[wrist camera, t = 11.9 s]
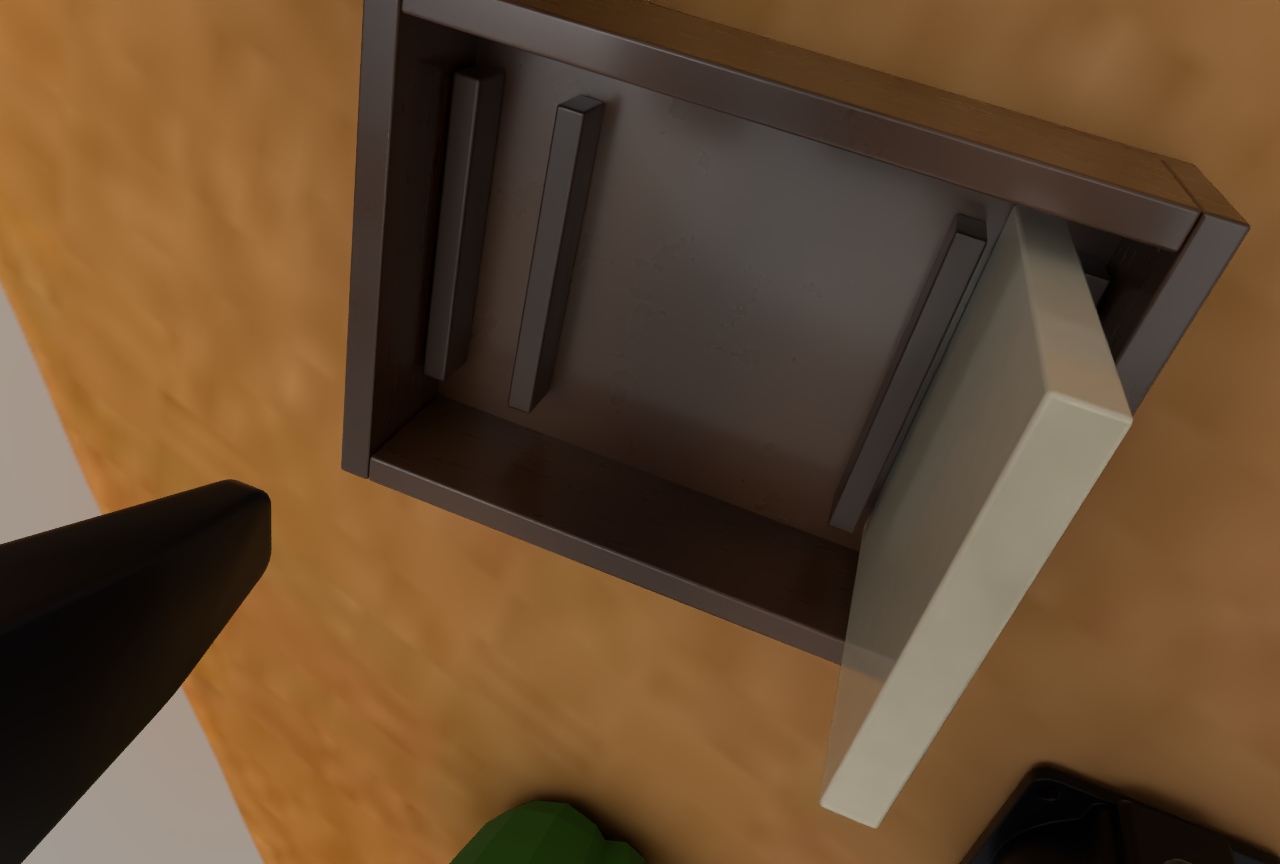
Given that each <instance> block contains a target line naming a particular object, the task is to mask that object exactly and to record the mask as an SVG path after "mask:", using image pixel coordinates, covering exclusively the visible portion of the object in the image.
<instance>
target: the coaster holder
mask: <svg viewBox="0 0 1280 864" xmlns="http://www.w3.org/2000/svg"><path fill="white" fill-rule="evenodd" d="M1015 205H1021V206H1025V207H1028V208H1031V209H1034V210H1037V211H1041V212H1044V213H1047V214H1050V215H1053V216H1057V217H1060V218H1063V219H1065V220H1066V221H1067V223H1068V226H1069V229H1070V232H1071V235H1072V238H1073V241H1074V244H1075V247H1076V250H1077V253H1078V256H1079V259H1080V262H1081V265H1082V268H1083V271H1084V274H1085V276H1086V279H1087V282H1088V285H1089V288H1090V291H1091V294H1092V297H1093V300H1094V303H1095V306H1096V309H1097V312H1098V315H1099V318H1100V321H1101V324H1102V327H1103V330H1104V333H1105V336H1106V339H1107V342H1108V345H1109V348H1110V351H1111V354H1112V357H1113V360H1114V363H1115V366H1116V369H1117V372H1118V375H1119V378H1120V381H1121V384H1122V387H1123V390H1124V393H1125V396H1126V399H1127V401H1128V404H1129V407H1130V410H1131V413H1132V416H1133V415H1134V413H1135V412H1136V410H1137V408H1138V407H1139V405H1140V404H1141V402H1142V400H1143V399H1144V397H1145V396H1146V394H1147V392H1148V391H1149V389H1150V388H1151V386H1152V385H1153V383H1154V381H1155V380H1156V378H1157V377H1158V375H1159V373H1160V372H1161V370H1162V369H1163V367H1164V365H1165V364H1166V362H1167V361H1168V359H1169V357H1170V356H1171V354H1172V353H1173V351H1174V349H1175V348H1176V346H1177V345H1178V343H1179V341H1180V340H1181V338H1182V337H1183V335H1184V334H1185V332H1186V330H1187V329H1188V327H1189V326H1190V324H1191V322H1192V321H1193V319H1194V318H1195V316H1196V314H1197V313H1198V311H1199V310H1200V308H1201V306H1202V305H1203V303H1204V302H1205V300H1206V298H1207V297H1208V295H1209V294H1210V292H1211V290H1212V289H1213V287H1214V286H1215V284H1216V283H1217V281H1218V279H1219V278H1220V276H1221V275H1222V273H1223V271H1224V270H1225V268H1226V267H1227V265H1228V263H1229V262H1230V260H1231V259H1232V257H1233V255H1234V254H1235V252H1236V251H1237V249H1238V247H1239V246H1240V244H1241V243H1242V241H1243V239H1244V238H1245V236H1246V235H1247V233H1248V231H1249V230H1250V225H1249V224H1248V222H1247V221H1246V220H1245V219H1244V218H1243V217H1242V216H1241V215H1240V214H1239V213H1238V212H1237V211H1236V209H1235V208H1234V207H1233V206H1232V205H1231V204H1230V203H1229V202H1228V201H1227V200H1226V199H1225V197H1224V196H1223V195H1222V194H1221V193H1220V192H1219V191H1218V190H1217V189H1216V188H1215V187H1214V186H1213V184H1212V183H1211V182H1210V181H1209V180H1208V179H1207V178H1206V177H1205V176H1204V175H1203V174H1202V173H1201V171H1200V170H1199V169H1198V168H1197V167H1196V166H1195V165H1192V164H1189V163H1186V162H1182V161H1179V160H1176V159H1172V158H1169V157H1166V156H1162V155H1158V154H1155V153H1152V152H1148V151H1145V150H1142V149H1138V148H1135V147H1132V146H1128V145H1125V144H1122V143H1118V142H1115V141H1111V140H1108V139H1105V138H1101V137H1098V136H1095V135H1091V134H1088V133H1084V132H1081V131H1078V130H1074V129H1071V128H1068V127H1064V126H1061V125H1058V124H1054V123H1051V122H1047V121H1044V120H1041V119H1037V118H1034V117H1031V116H1027V115H1024V114H1020V113H1017V112H1014V111H1010V110H1007V109H1004V108H1000V107H997V106H994V105H990V104H987V103H983V102H980V101H977V100H973V99H970V98H967V97H963V96H960V95H956V94H953V93H950V92H946V91H943V90H940V89H936V88H933V87H930V86H926V85H923V84H919V83H916V82H913V81H909V80H906V79H903V78H899V77H896V76H893V75H889V74H886V73H882V72H879V71H876V70H872V69H869V68H866V67H862V66H859V65H855V64H852V63H849V62H845V61H842V60H839V59H835V58H832V57H829V56H825V55H822V54H818V53H815V52H812V51H808V50H805V49H802V48H798V47H795V46H791V45H788V44H785V43H781V42H778V41H775V40H771V39H768V38H765V37H761V36H758V35H754V34H751V33H748V32H744V31H741V30H738V29H734V28H731V27H727V26H724V25H721V24H717V23H714V22H711V21H707V20H704V19H701V18H697V17H694V16H690V15H687V14H684V13H680V12H677V11H674V10H670V9H667V8H663V7H660V6H657V5H653V4H650V3H647V2H643V1H640V0H364V3H363V24H362V45H361V65H360V86H359V107H358V128H357V149H356V170H355V191H354V212H353V233H352V254H351V275H350V296H349V317H348V338H347V358H346V379H345V400H344V421H343V442H342V463H341V469H342V470H344V471H347V472H349V473H352V474H354V475H357V476H360V477H362V478H365V479H368V478H369V479H370V480H371V481H373V482H376V483H378V484H381V485H384V486H386V487H389V488H391V489H394V490H396V491H399V492H401V493H404V494H406V495H409V496H412V497H414V498H417V499H419V500H422V501H424V502H427V503H429V504H432V505H434V506H437V507H439V508H442V509H445V510H447V511H450V512H452V513H455V514H457V515H460V516H462V517H465V518H467V519H470V520H473V521H475V522H478V523H480V524H483V525H485V526H488V527H490V528H493V529H495V530H498V531H501V532H503V533H506V534H508V535H511V536H513V537H516V538H518V539H521V540H523V541H526V542H529V543H531V544H534V545H536V546H539V547H541V548H544V549H546V550H549V551H551V552H554V553H556V554H559V555H562V556H564V557H567V558H569V559H572V560H574V561H577V562H579V563H582V564H584V565H587V566H590V567H592V568H595V569H597V570H600V571H602V572H605V573H607V574H610V575H612V576H615V577H618V578H620V579H623V580H625V581H628V582H630V583H633V584H635V585H638V586H640V587H643V588H645V589H648V590H651V591H653V592H656V593H658V594H661V595H663V596H666V597H668V598H671V599H673V600H676V601H679V602H681V603H684V604H686V605H689V606H691V607H694V608H696V609H699V610H701V611H704V612H707V613H709V614H712V615H714V616H717V617H719V618H722V619H724V620H727V621H729V622H732V623H735V624H737V625H740V626H742V627H745V628H747V629H750V630H752V631H755V632H757V633H760V634H762V635H765V636H768V637H770V638H773V639H775V640H778V641H780V642H783V643H785V644H788V645H790V646H793V647H796V648H798V649H801V650H803V651H806V652H808V653H811V654H813V655H816V656H818V657H821V658H824V659H826V660H829V661H831V662H834V663H836V664H839V665H841V664H842V657H843V651H844V645H845V639H846V633H847V627H848V621H849V615H850V609H851V602H852V596H853V590H854V584H855V578H856V572H857V566H858V560H859V553H860V547H861V541H862V535H863V529H864V525H865V523H866V521H867V519H868V517H869V514H870V512H871V510H872V508H873V506H874V504H875V502H876V499H877V497H878V495H879V493H880V491H881V489H882V487H883V484H884V482H885V480H886V478H887V476H888V474H889V472H890V470H891V467H892V465H893V463H894V461H895V459H896V457H897V455H898V452H899V450H900V448H901V446H902V444H903V442H904V440H905V437H906V435H907V433H908V431H909V429H910V427H911V425H912V422H913V420H914V418H915V416H916V414H917V412H918V410H919V408H920V405H921V403H922V401H923V399H924V397H925V395H926V393H927V390H928V388H929V386H930V384H931V382H932V380H933V378H934V375H935V373H936V371H937V369H938V367H939V365H940V363H941V360H942V358H943V356H944V354H945V352H946V350H947V348H948V346H949V343H950V341H951V339H952V337H953V335H954V333H955V331H956V328H957V326H958V324H959V322H960V320H961V318H962V316H963V313H964V311H965V309H966V307H967V305H968V303H969V301H970V298H971V296H972V294H973V292H974V290H975V288H976V286H977V284H978V281H979V279H980V277H981V275H982V273H983V271H984V269H985V266H986V264H987V262H988V260H989V258H990V256H991V254H992V251H993V249H994V247H995V245H996V243H997V241H998V239H999V236H1000V234H1001V232H1002V230H1003V228H1004V226H1005V224H1006V222H1007V219H1008V217H1009V215H1010V213H1011V211H1012V209H1013V207H1014V206H1015Z"/></svg>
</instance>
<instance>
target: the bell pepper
mask: <svg viewBox="0 0 1280 864" xmlns="http://www.w3.org/2000/svg"><path fill="white" fill-rule="evenodd" d="M450 864H646V863H645V859H644V858H643V857H642V856H641V855H640V854H638V853H637V852H636V851H635V850H634V849H633V848H632V847H631V846H630V845H629V844H627V843H626V842H620V841H609V840H605V839H604V837H603V836H602V834H601V832H600V830H599V829H598V827H597V825H596V824H595V823H593V822H592V821H591V820H589V819H588V818H586V817H585V816H584V815H582V814H581V813H580V812H578V811H577V810H575V809H574V808H573V807H571V806H570V805H569V804H567V803H557V802H546V801H536V800H534V801H531V802H529V803H526V804H524V805H521V806H519V807H516V808H513V809H511V810H508V811H507V812H505V813H503V814H501V815H500V816H498V817H496V818H494V819H493V820H491V821H489V822H487V823H486V824H485V825H484V826H483V828H482V829H481V830H480V831H479V832H478V833H477V834H476V835H475V836H474V837H473V838H472V839H471V840H470V842H469V843H468V844H467V845H466V846H465V847H464V848H463V849H462V850H461V851H460V852H459V853H458V855H457V856H456V857H455V858H454V859H453V860H452V862H451V863H450Z"/></svg>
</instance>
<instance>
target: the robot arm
mask: <svg viewBox="0 0 1280 864" xmlns="http://www.w3.org/2000/svg"><path fill="white" fill-rule="evenodd" d="M270 556H271V500H270V498H269V496H268V494H267V493H265V492H264V491H262V490H260V489H258V488H255V487H253V486H250V485H248V484H245V483H243V482H240V481H237V480H232V479H229V480H223V481H219V482H215V483H212V484H208V485H205V486H202V487H198V488H195V489H191V490H188V491H184V492H181V493H177V494H174V495H170V496H167V497H163V498H160V499H156V500H153V501H150V502H146V503H143V504H139V505H136V506H132V507H129V508H125V509H122V510H118V511H115V512H111V513H108V514H104V515H101V516H98V517H94V518H91V519H87V520H84V521H80V522H77V523H73V524H70V525H66V526H63V527H60V528H56V529H52V530H49V531H46V532H42V533H39V534H35V535H32V536H28V537H25V538H21V539H18V540H14V541H11V542H7V543H4V544H0V864H21V863H22V862H23V861H24V860H25V859H26V857H27V856H28V855H29V854H30V853H31V852H32V851H33V850H34V849H35V847H36V846H37V845H38V844H39V843H40V842H41V841H42V840H43V838H45V837H46V835H47V834H48V833H49V832H50V831H51V830H52V829H53V828H54V827H55V826H56V824H57V823H58V822H59V821H60V820H61V819H62V818H63V817H64V816H65V815H66V813H67V812H68V811H69V810H70V809H71V808H72V807H73V806H74V805H75V803H76V802H77V801H78V800H79V799H80V798H81V797H82V796H83V795H84V794H85V792H86V791H87V790H88V789H89V788H90V787H91V786H92V785H93V784H94V782H95V781H96V780H97V779H98V778H99V777H100V776H101V775H102V774H103V773H104V772H105V770H106V769H107V768H108V767H109V766H110V765H111V764H112V763H113V762H114V761H115V759H116V758H117V757H118V756H119V755H120V754H121V753H122V752H123V751H124V750H125V748H126V747H127V746H128V745H129V744H130V743H131V742H132V741H133V740H134V739H135V737H136V736H137V735H138V734H139V733H140V732H141V731H142V730H143V729H144V727H145V726H146V725H147V724H148V723H149V722H150V721H151V720H152V719H153V718H154V716H155V715H156V714H157V713H158V712H159V711H160V710H161V709H162V707H163V706H164V705H165V704H166V703H167V702H168V700H169V699H170V698H171V697H172V696H173V695H174V694H175V692H176V691H177V690H178V688H179V687H180V686H181V685H182V683H183V682H184V681H185V679H186V678H187V677H188V676H189V674H190V673H191V672H192V670H193V669H194V668H195V666H196V665H197V663H198V662H199V661H200V659H201V658H202V657H203V655H204V654H205V653H206V651H207V650H208V649H209V647H210V646H211V644H212V643H213V642H214V640H215V639H216V638H217V636H218V635H219V634H220V632H221V631H222V630H223V628H224V627H225V625H226V624H227V623H228V621H229V620H230V619H231V617H232V616H233V615H234V613H235V612H236V610H237V609H238V608H239V606H240V605H241V604H242V602H243V601H244V600H245V598H246V597H247V596H248V594H249V593H250V591H251V590H252V589H253V587H254V586H255V585H256V583H257V582H258V581H259V579H260V578H261V576H262V575H263V573H264V572H265V570H266V568H267V566H268V563H269V561H270ZM1044 786H1052V787H1044ZM960 864H1280V858H1278V857H1277V856H1275V855H1273V854H1270V853H1267V852H1265V851H1262V850H1260V849H1257V848H1255V847H1252V846H1250V845H1247V844H1245V843H1242V842H1240V841H1237V840H1235V839H1232V838H1230V837H1227V836H1225V835H1222V834H1220V833H1217V832H1214V831H1212V830H1209V829H1207V828H1204V827H1202V826H1199V825H1197V824H1194V823H1192V822H1189V821H1187V820H1184V819H1182V818H1179V817H1177V816H1174V815H1172V814H1169V813H1166V812H1164V811H1161V810H1159V809H1156V808H1154V807H1151V806H1149V805H1146V804H1144V803H1141V802H1139V801H1136V800H1134V799H1131V798H1129V797H1126V796H1124V795H1121V794H1119V793H1116V792H1113V791H1111V790H1108V789H1106V788H1103V787H1101V786H1098V785H1096V784H1093V783H1091V782H1088V781H1086V780H1083V779H1081V778H1078V777H1076V776H1073V775H1071V774H1068V773H1066V772H1063V771H1060V770H1058V769H1055V768H1051V767H1037V768H1034V769H1032V770H1031V771H1030V772H1028V773H1027V775H1026V776H1025V777H1024V779H1023V780H1022V781H1021V783H1020V784H1019V785H1018V787H1017V788H1016V790H1015V791H1014V792H1013V794H1012V795H1011V796H1010V798H1009V799H1008V800H1007V802H1006V803H1005V804H1004V806H1003V807H1002V808H1001V810H1000V811H999V812H998V814H997V815H996V816H995V818H994V819H993V820H992V822H991V823H990V824H989V826H988V827H987V828H986V830H985V831H984V832H983V834H982V835H981V836H980V838H979V839H978V840H977V842H976V843H975V844H974V846H973V847H972V849H971V850H970V851H969V853H968V854H967V855H966V857H965V858H964V859H963V861H962V862H961V863H960Z"/></svg>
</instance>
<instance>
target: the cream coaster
mask: <svg viewBox="0 0 1280 864" xmlns="http://www.w3.org/2000/svg"><path fill="white" fill-rule="evenodd" d="M1132 424H1133V416H1132V413H1131V410H1130V407H1129V404H1128V401H1127V399H1126V396H1125V393H1124V390H1123V387H1122V384H1121V381H1120V378H1119V375H1118V372H1117V369H1116V366H1115V363H1114V360H1113V357H1112V354H1111V351H1110V348H1109V345H1108V342H1107V339H1106V336H1105V333H1104V330H1103V327H1102V324H1101V321H1100V318H1099V315H1098V312H1097V309H1096V306H1095V303H1094V300H1093V297H1092V294H1091V291H1090V288H1089V285H1088V282H1087V279H1086V276H1085V274H1084V271H1083V268H1082V265H1081V262H1080V259H1079V256H1078V253H1077V250H1076V247H1075V244H1074V241H1073V238H1072V235H1071V232H1070V229H1069V226H1068V223H1067V221H1066V220H1065V219H1063V218H1060V217H1057V216H1053V215H1050V214H1047V213H1044V212H1041V211H1037V210H1034V209H1031V208H1028V207H1025V206H1021V205H1015V206H1014V207H1013V209H1012V211H1011V213H1010V215H1009V217H1008V219H1007V222H1006V224H1005V226H1004V228H1003V230H1002V232H1001V234H1000V236H999V239H998V241H997V243H996V245H995V247H994V249H993V251H992V254H991V256H990V258H989V260H988V262H987V264H986V266H985V269H984V271H983V273H982V275H981V277H980V279H979V281H978V284H977V286H976V288H975V290H974V292H973V294H972V296H971V298H970V301H969V303H968V305H967V307H966V309H965V311H964V313H963V316H962V318H961V320H960V322H959V324H958V326H957V328H956V331H955V333H954V335H953V337H952V339H951V341H950V343H949V346H948V348H947V350H946V352H945V354H944V356H943V358H942V360H941V363H940V365H939V367H938V369H937V371H936V373H935V375H934V378H933V380H932V382H931V384H930V386H929V388H928V390H927V393H926V395H925V397H924V399H923V401H922V403H921V405H920V408H919V410H918V412H917V414H916V416H915V418H914V420H913V422H912V425H911V427H910V429H909V431H908V433H907V435H906V437H905V440H904V442H903V444H902V446H901V448H900V450H899V452H898V455H897V457H896V459H895V461H894V463H893V465H892V467H891V470H890V472H889V474H888V476H887V478H886V480H885V482H884V484H883V487H882V489H881V491H880V493H879V495H878V497H877V499H876V502H875V504H874V506H873V508H872V510H871V512H870V514H869V517H868V519H867V521H866V523H865V525H864V529H863V535H862V541H861V547H860V553H859V560H858V566H857V572H856V578H855V584H854V590H853V596H852V602H851V609H850V615H849V621H848V627H847V633H846V639H845V645H844V651H843V657H842V664H841V670H840V676H839V682H838V688H837V694H836V700H835V706H834V713H833V719H832V725H831V731H830V737H829V743H828V749H827V755H826V761H825V768H824V774H823V780H822V786H821V792H820V798H819V803H820V806H821V807H823V808H825V809H827V810H830V811H832V812H835V813H837V814H839V815H842V816H844V817H846V818H849V819H851V820H854V821H856V822H858V823H861V824H863V825H866V826H868V827H870V828H874V829H876V828H878V826H879V825H880V823H881V822H882V820H883V819H884V817H885V815H886V814H887V812H888V811H889V809H890V808H891V806H892V804H893V803H894V801H895V800H896V798H897V796H898V795H899V793H900V792H901V790H902V788H903V787H904V785H905V784H906V782H907V781H908V779H909V777H910V776H911V774H912V773H913V771H914V769H915V768H916V766H917V765H918V763H919V762H920V760H921V758H922V757H923V755H924V754H925V752H926V750H927V749H928V747H929V746H930V744H931V743H932V741H933V739H934V738H935V736H936V735H937V733H938V731H939V730H940V728H941V727H942V725H943V723H944V722H945V720H946V719H947V717H948V716H949V714H950V712H951V711H952V709H953V708H954V706H955V704H956V703H957V701H958V700H959V698H960V697H961V695H962V693H963V692H964V690H965V689H966V687H967V685H968V684H969V682H970V681H971V679H972V678H973V676H974V674H975V673H976V671H977V670H978V668H979V666H980V665H981V663H982V662H983V660H984V658H985V657H986V655H987V654H988V652H989V651H990V649H991V647H992V646H993V644H994V643H995V641H996V639H997V638H998V636H999V635H1000V633H1001V632H1002V630H1003V628H1004V627H1005V625H1006V624H1007V622H1008V620H1009V619H1010V617H1011V616H1012V614H1013V613H1014V611H1015V609H1016V608H1017V606H1018V605H1019V603H1020V601H1021V600H1022V598H1023V597H1024V595H1025V593H1026V592H1027V590H1028V589H1029V587H1030V586H1031V584H1032V582H1033V581H1034V579H1035V578H1036V576H1037V574H1038V573H1039V571H1040V570H1041V568H1042V567H1043V565H1044V563H1045V562H1046V560H1047V559H1048V557H1049V555H1050V554H1051V552H1052V551H1053V549H1054V548H1055V546H1056V544H1057V543H1058V541H1059V540H1060V538H1061V536H1062V535H1063V533H1064V532H1065V530H1066V528H1067V527H1068V525H1069V524H1070V522H1071V521H1072V519H1073V517H1074V516H1075V514H1076V513H1077V511H1078V509H1079V508H1080V506H1081V505H1082V503H1083V502H1084V500H1085V498H1086V497H1087V495H1088V494H1089V492H1090V490H1091V489H1092V487H1093V486H1094V484H1095V483H1096V481H1097V479H1098V478H1099V476H1100V475H1101V473H1102V471H1103V470H1104V468H1105V467H1106V465H1107V463H1108V462H1109V460H1110V459H1111V457H1112V456H1113V454H1114V452H1115V451H1116V449H1117V448H1118V446H1119V444H1120V443H1121V441H1122V440H1123V438H1124V437H1125V435H1126V433H1127V432H1128V430H1129V429H1130V427H1131V425H1132Z"/></svg>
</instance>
